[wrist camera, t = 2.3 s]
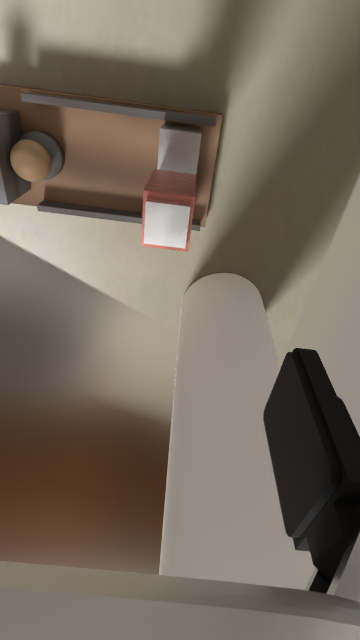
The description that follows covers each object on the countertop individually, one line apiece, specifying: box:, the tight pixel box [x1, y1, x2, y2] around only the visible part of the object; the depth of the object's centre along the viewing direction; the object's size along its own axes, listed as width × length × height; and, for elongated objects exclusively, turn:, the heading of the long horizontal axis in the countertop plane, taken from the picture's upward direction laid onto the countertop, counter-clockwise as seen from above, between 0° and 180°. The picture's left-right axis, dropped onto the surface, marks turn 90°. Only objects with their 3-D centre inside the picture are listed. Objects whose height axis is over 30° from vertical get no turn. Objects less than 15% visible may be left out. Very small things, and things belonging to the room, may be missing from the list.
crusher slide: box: [141, 123, 202, 252], centre depth 23 cm, size 7×3×12 cm, turn 174°
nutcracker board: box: [0, 84, 222, 231], centre depth 27 cm, size 9×18×6 cm, turn 84°
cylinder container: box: [159, 273, 315, 590], centre depth 26 cm, size 9×9×30 cm
